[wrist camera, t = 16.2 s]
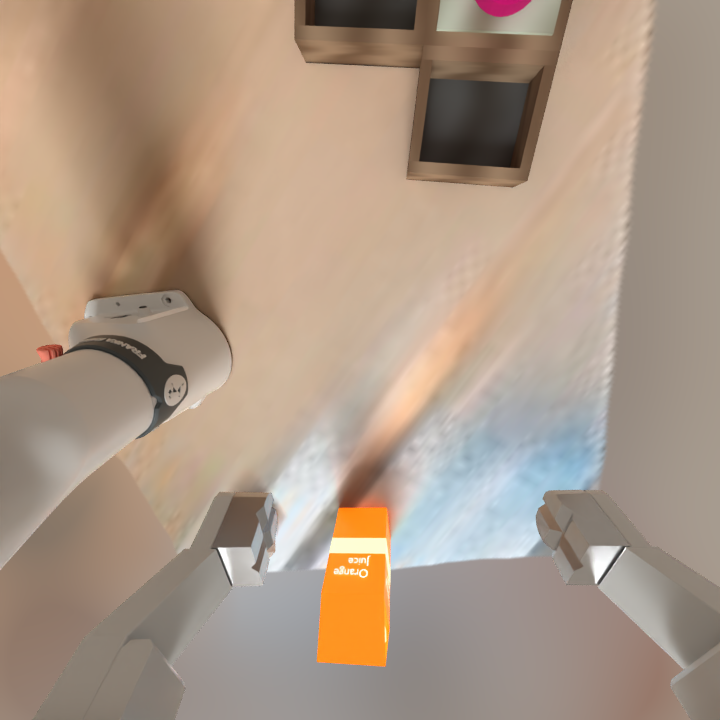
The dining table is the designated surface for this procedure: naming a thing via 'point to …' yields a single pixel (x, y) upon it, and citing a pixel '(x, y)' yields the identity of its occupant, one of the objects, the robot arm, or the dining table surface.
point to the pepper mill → (502, 6)
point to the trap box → (451, 75)
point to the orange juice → (356, 590)
